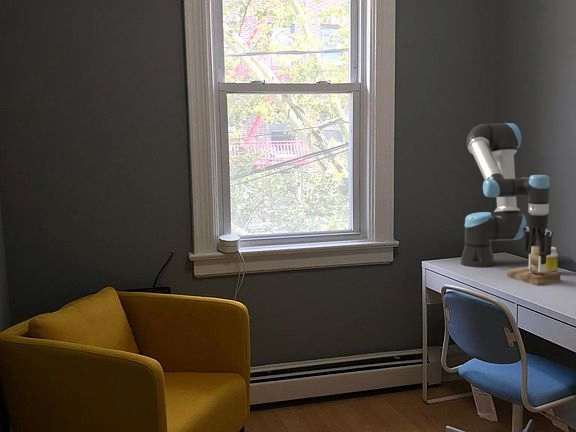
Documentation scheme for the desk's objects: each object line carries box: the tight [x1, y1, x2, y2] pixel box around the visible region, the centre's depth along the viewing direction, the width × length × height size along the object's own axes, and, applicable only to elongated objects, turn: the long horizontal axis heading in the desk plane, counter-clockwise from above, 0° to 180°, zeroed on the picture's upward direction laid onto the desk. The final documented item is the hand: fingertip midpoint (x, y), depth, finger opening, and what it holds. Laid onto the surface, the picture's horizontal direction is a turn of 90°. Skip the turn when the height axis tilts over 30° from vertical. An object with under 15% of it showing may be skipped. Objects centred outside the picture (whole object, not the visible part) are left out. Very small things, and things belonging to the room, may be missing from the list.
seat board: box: [506, 265, 561, 286], centre depth 256 cm, size 16×13×3 cm
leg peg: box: [531, 245, 541, 276], centre depth 251 cm, size 4×4×14 cm
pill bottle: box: [545, 246, 559, 273], centre depth 264 cm, size 6×6×11 cm
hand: (536, 270), depth 251 cm, fingers closed on leg peg, 4 cm apart
